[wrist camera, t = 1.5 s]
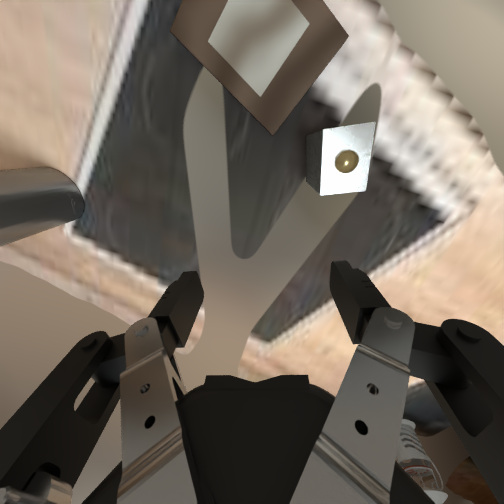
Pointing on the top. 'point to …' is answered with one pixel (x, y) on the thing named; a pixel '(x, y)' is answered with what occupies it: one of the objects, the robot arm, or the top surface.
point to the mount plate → (261, 49)
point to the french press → (417, 460)
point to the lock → (339, 158)
